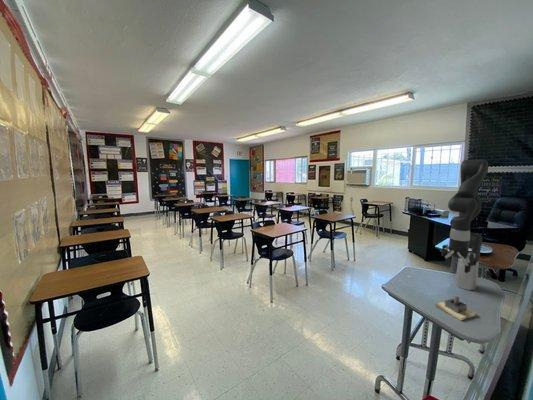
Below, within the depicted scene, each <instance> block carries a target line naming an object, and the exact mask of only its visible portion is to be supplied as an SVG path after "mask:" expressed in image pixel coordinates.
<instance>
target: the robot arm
mask: <svg viewBox="0 0 533 400" xmlns="http://www.w3.org/2000/svg"><path fill="white" fill-rule="evenodd" d="M488 172H489V161H488V160H487V159H482V158H481V159H464V160H462V161H461V165H460V173H459V174H460V185H459V187H458V190H457V192H456V193H455V194H454V195H453V196H451V198H450V199H449V201H448V203H447V207H448V209H449V211H451V212H456V213H458V216H453V217H452V218H451V226H450V228H451V229H450V232H449V243H448V244H444V245H442V248H441V255H440V256H442V257H444V258H445V260H444V263H445V265H446V266H451V260H452V259H451V258H452V257H454V258H457V264H456V266H457V267H456V275H455V285H456V286H457V287H458V288H460V289H463V290H467V291H475V290H476V289H477V288H478V287H477V286H478V277H479V266H480V264H479V263H480V256H481V249H482V245H483V244H482V243H483V236H482V235H481V233H477V232H471V223H472V221H473V220H474V219H475V218H477V216H479V214H480V213H481V212H482V211H481V210H482V199H481V197H480V195H479V194H478V193H477V192H478V189H479V187H480V185H481V184H482V182H483V181H484V179H485V178H486V176H487V174H488ZM469 249H471V250H470V251H469ZM448 251H449V252H448Z"/></svg>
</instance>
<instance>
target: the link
mask: <svg viewBox="0 0 533 400" xmlns="http://www.w3.org/2000/svg"><path fill="white" fill-rule="evenodd" d="M445 306H446V307H447V308H449V309H451V310H453V311H455V312H457V313H460V312H463V311H466V310H467V308H468V304H466V303H464V302H462V301H460V300H459V303H458V306H457V305H455V304H454V298H450V299H446V300H445Z"/></svg>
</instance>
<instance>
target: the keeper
mask: <svg viewBox="0 0 533 400" xmlns="http://www.w3.org/2000/svg"><path fill="white" fill-rule="evenodd" d="M453 299H454V304H455V305H457V306H458V303H459V301H460V297H459V296H455V295H454V298H453ZM445 301H446V300H445ZM445 301H442V302H437V303H435V307H436V308H438V309H440V310H442V311H443V312H445V313H446V314H449V316H452V317H454V318H455V319H458V320H460V321H463V320H466V319H470V318H473V317H477V316H478V312H476V311H474V310H472V309H470V308H468V307H467V310H466V311H463V312H460V313H457V312H455V311H453V310H451V309H449V308H447V307H446V306H445Z"/></svg>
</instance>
